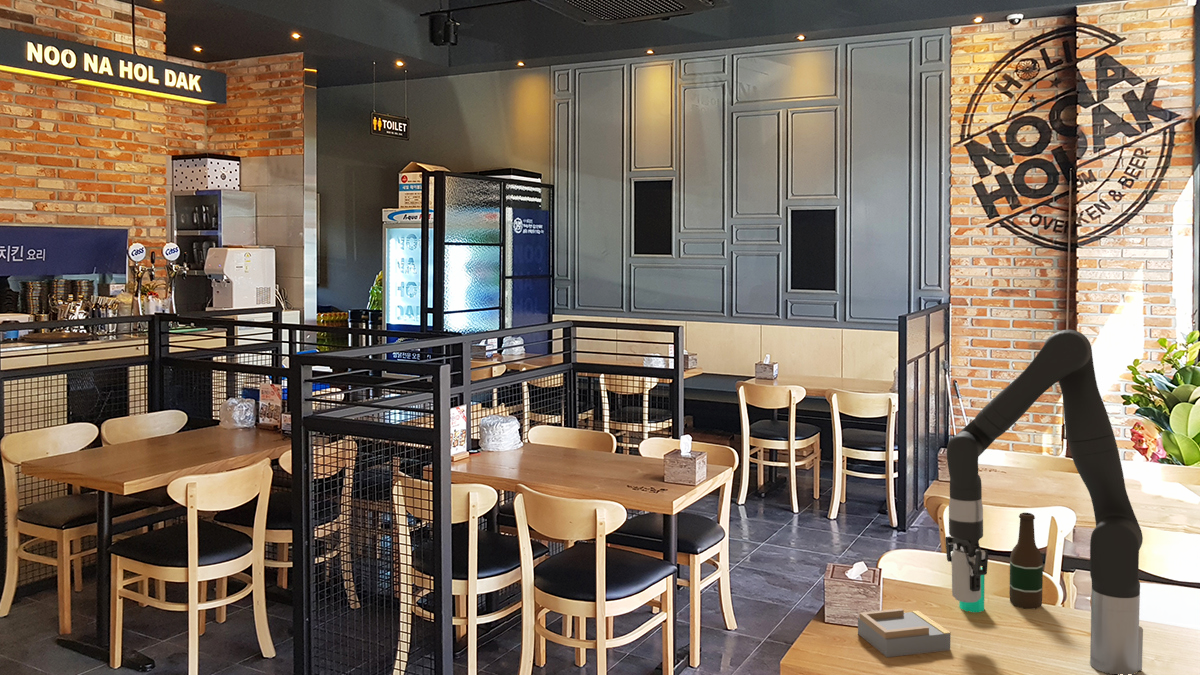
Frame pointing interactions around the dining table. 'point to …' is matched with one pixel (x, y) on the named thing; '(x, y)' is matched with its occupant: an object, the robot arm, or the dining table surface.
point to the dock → (902, 632)
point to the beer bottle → (1026, 567)
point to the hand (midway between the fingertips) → (966, 586)
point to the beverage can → (962, 578)
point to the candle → (977, 605)
